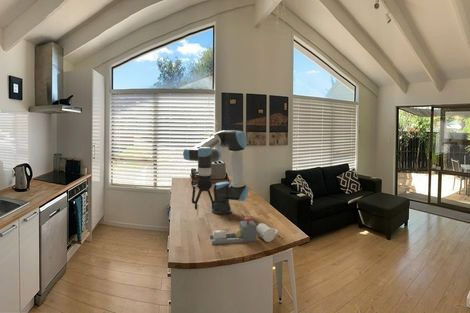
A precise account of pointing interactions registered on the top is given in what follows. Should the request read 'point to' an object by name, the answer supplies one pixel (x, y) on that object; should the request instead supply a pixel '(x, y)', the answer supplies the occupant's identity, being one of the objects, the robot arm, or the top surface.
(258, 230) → the mug
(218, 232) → the fitting
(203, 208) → the top surface
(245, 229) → the valve rig
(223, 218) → the top surface
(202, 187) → the robot arm
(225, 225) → the top surface
